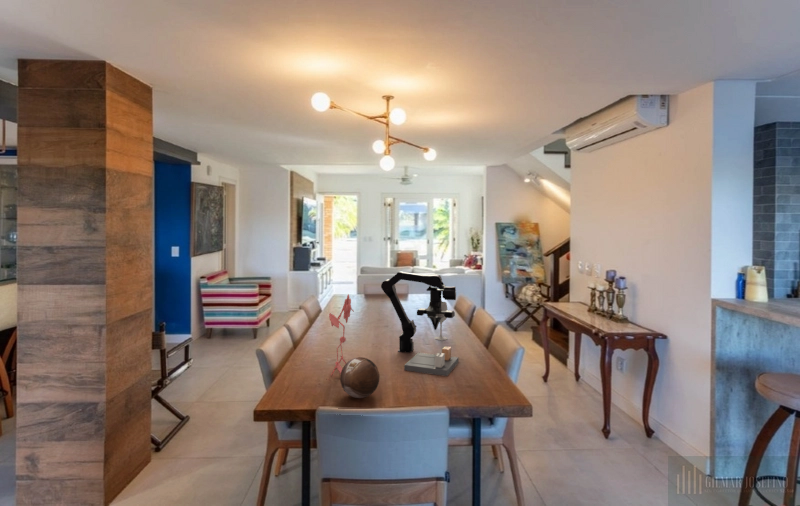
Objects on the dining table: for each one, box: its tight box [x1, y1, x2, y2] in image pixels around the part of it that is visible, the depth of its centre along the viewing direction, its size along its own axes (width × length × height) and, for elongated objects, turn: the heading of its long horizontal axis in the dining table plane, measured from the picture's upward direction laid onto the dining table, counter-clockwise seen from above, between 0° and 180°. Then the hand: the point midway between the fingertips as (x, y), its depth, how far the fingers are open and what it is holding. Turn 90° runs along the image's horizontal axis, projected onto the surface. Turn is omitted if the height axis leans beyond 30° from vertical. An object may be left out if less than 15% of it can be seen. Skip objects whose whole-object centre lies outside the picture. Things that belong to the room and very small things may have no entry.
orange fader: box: [441, 345, 452, 360], centre depth 204 cm, size 3×5×5 cm, turn 158°
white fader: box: [435, 352, 445, 368], centre depth 194 cm, size 3×5×5 cm, turn 158°
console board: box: [403, 352, 460, 377], centre depth 202 cm, size 20×20×3 cm
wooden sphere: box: [339, 356, 381, 399], centre depth 166 cm, size 15×15×15 cm
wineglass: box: [434, 301, 448, 341], centre depth 249 cm, size 8×8×21 cm
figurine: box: [327, 293, 355, 381], centre depth 192 cm, size 15×26×35 cm, turn 175°
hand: (435, 329), depth 222 cm, fingers closed
